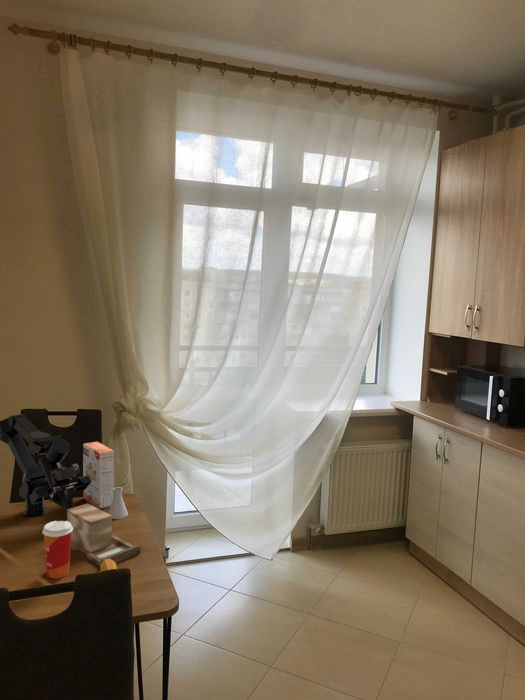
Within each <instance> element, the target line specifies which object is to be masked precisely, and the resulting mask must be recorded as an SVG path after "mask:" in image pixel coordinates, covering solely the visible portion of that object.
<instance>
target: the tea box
mask: <svg viewBox="0 0 525 700" xmlns="http://www.w3.org/2000/svg"><path fill="white" fill-rule="evenodd" d="M108 513H109V512H108ZM108 513H107V512H106V511H103V510H102V509H101V508H100V509H99V508H98V507H94V506H93V505H92V504H91V503H85V504H84V503H83V504H81V505H78V506H73V508H71V509H67V511H66V516H67V517H66V521H68V522H70V523H71V525H72V527H73V531H72V535H71V541H72V542H74V543H76V544H77V545H79V546H81V547H82V548H84V549H86V550H87V551H89V552H93V551H96V550H99V549H102V548H104V547H107V546H110V545H112V534H113V533H112V529H113V528H112V527H113V526H112V523H113V519H112V515H110V514H108Z"/></svg>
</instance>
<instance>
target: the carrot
mask: <svg viewBox="0 0 525 700" xmlns="http://www.w3.org/2000/svg"><path fill="white" fill-rule="evenodd" d="M99 567H100V569H99V572H100V571H103V570H110V569H117V570H118V567H117V563H115V562H114V561H113V560H111V559H105V560H104V561H103V562H102V563H101V565H100V566H99Z"/></svg>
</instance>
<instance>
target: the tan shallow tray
mask: <svg viewBox="0 0 525 700" xmlns="http://www.w3.org/2000/svg"><path fill="white" fill-rule="evenodd" d="M71 550H72V551H74V552H76V551H80V552H82V553H83V554H85V555H86V559H87V560H89V561H90V562H93V563H94V564H96V565H97V566H98V567H100V565H101V563H102V562H103V561H104V560H105V559H111V560H113V561H114V562H115V563H116V564H118V563H119V562H121V561H125V560H127V559H129V558H132V557H134V556H136V555H139V554H141V545H139V544H135V545H134V544H131V543H129V542H127V541H126V540H124V539H122V538H120V537H118V536H117V535H114V534H113V533H112V545H110V546H107V547H104V548H102V549H99V550H96V551H93V552H89V551H87V550H86V549H84V548H82V547H81V546H79V545H77V544H76V543H74V542H72V541H71Z"/></svg>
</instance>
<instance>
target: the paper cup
mask: <svg viewBox="0 0 525 700" xmlns="http://www.w3.org/2000/svg"><path fill="white" fill-rule="evenodd" d="M72 531H73V527H72V525H71V523H70V522H68V521H67V520H65V521H64V520H58V521H57V520H54V521H53V520H52V521H50V522H48V523H46V524H45V525H44V526H43V530H42V531H41V532H42V533H41V534H42V535H43V542H44V544H43V545H44V557H45V558H44V559H45V570H46V571H45V572H46V576H47V577H48V578H50V579H61V578H63V577H65V576H67V575H69V573H70V566H71V564H70V563H71V550H72V549H71V535H72Z"/></svg>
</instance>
